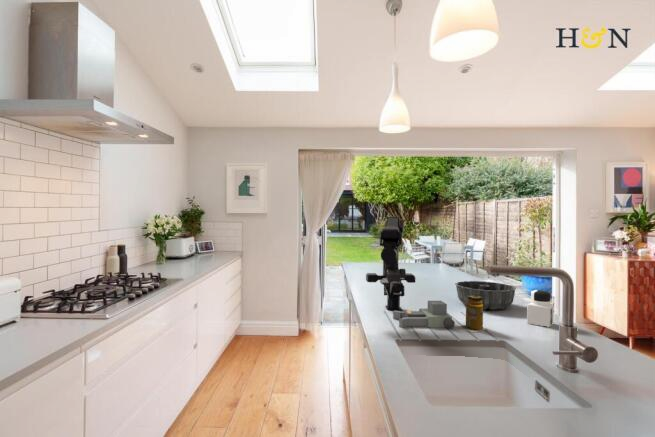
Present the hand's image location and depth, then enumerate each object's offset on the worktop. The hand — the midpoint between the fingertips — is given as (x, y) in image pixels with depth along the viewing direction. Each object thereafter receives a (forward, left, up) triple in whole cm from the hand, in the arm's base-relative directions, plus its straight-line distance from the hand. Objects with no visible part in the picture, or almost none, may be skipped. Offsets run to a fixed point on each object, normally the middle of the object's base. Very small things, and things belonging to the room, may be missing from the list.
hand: (390, 299), depth 137 cm
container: (+1, +60, -9) cm, 61 cm away
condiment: (+7, +30, -9) cm, 32 cm away
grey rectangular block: (-1, +10, -9) cm, 14 cm away
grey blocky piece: (0, +13, -9) cm, 16 cm away
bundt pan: (-27, +51, -10) cm, 59 cm away
